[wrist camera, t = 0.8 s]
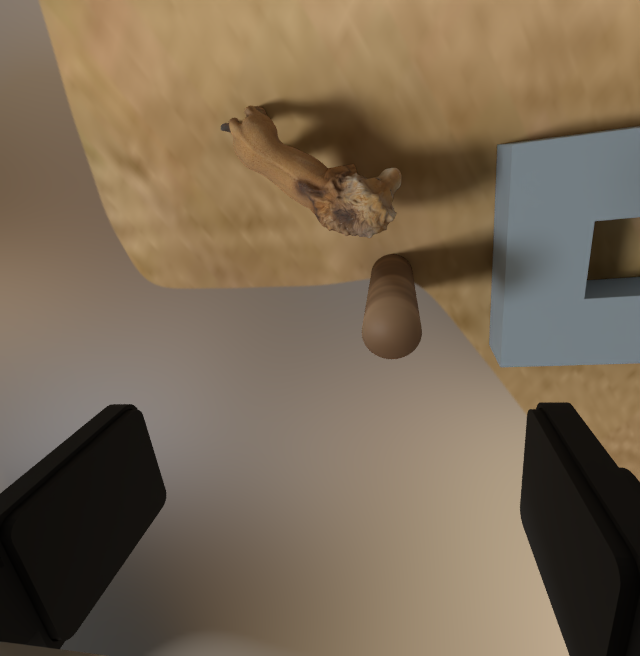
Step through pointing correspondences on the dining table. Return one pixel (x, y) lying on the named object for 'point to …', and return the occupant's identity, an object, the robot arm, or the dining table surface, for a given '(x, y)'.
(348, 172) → the lion figurine
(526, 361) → the socket block
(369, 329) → the peg
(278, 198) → the dining table surface
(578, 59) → the dining table surface
